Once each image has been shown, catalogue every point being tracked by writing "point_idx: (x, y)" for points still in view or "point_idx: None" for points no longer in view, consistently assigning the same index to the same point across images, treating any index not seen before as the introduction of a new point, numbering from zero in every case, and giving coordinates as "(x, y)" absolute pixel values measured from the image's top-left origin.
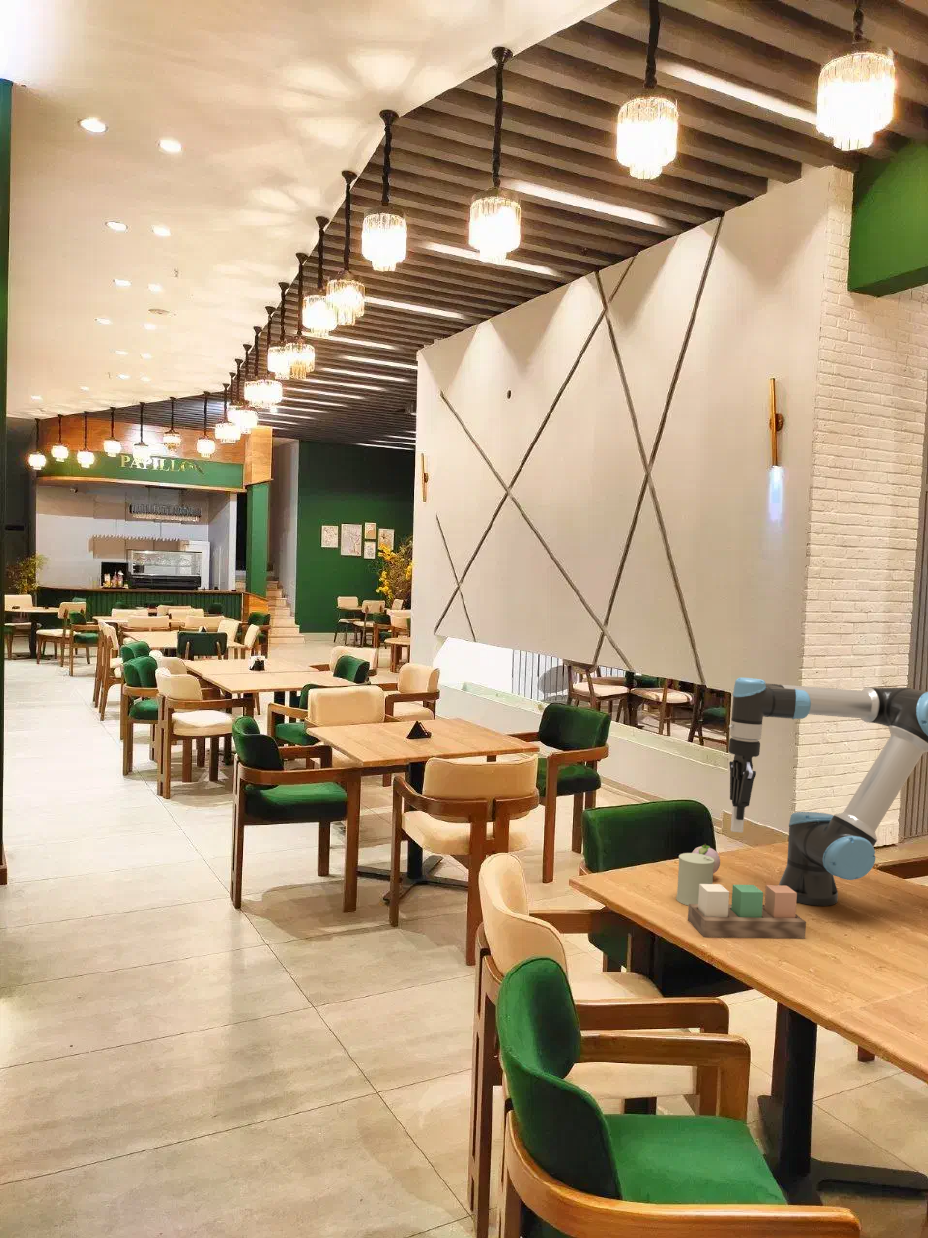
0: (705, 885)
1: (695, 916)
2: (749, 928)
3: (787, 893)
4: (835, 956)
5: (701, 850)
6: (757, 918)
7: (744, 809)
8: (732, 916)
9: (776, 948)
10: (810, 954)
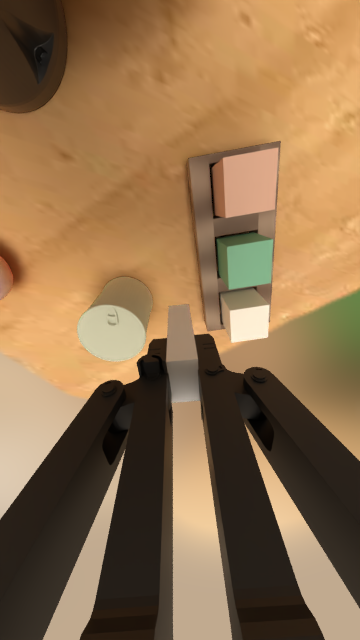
0: (238, 335)
1: None
2: None
3: (275, 176)
4: (347, 111)
5: None
6: None
7: (196, 353)
8: None
9: (302, 220)
10: (331, 165)
